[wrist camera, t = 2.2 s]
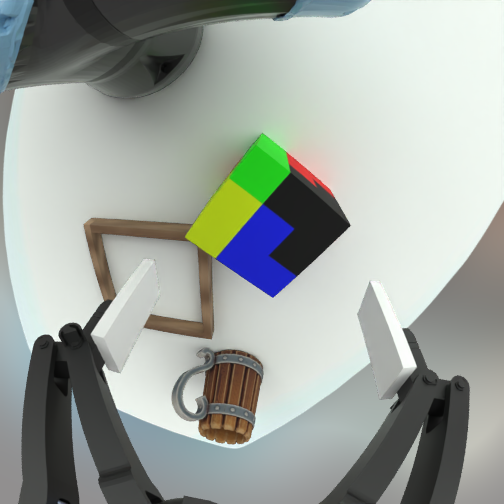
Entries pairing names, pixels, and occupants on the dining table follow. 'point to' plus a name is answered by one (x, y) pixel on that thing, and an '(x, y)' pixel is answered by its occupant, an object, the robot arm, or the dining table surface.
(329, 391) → the dining table surface
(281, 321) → the dining table surface
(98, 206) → the dining table surface
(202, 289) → the square wooden frame
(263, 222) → the puzzle toy
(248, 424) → the mug
